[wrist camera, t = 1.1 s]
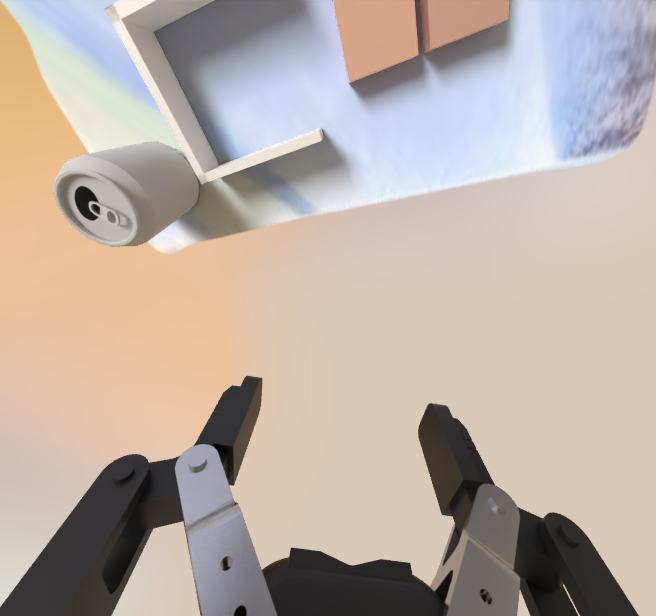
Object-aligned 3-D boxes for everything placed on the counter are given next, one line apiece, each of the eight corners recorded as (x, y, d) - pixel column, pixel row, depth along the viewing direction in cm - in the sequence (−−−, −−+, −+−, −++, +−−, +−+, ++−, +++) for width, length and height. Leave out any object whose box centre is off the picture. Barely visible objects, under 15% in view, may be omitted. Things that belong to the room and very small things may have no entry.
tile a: (330, -6, 22) (330, -17, 20) (403, -41, 21) (410, -55, 19) (348, 83, 26) (349, 82, 24) (411, 58, 25) (418, 55, 23)
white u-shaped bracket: (139, 23, 23) (104, 8, 20) (274, -48, 21) (261, -79, 17) (217, 174, 31) (201, 184, 27) (323, 135, 28) (321, 140, 24)
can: (135, 126, 28) (31, 138, 18) (207, 161, 30) (147, 189, 20) (133, 194, 32) (48, 232, 23) (197, 221, 34) (143, 267, 24)
